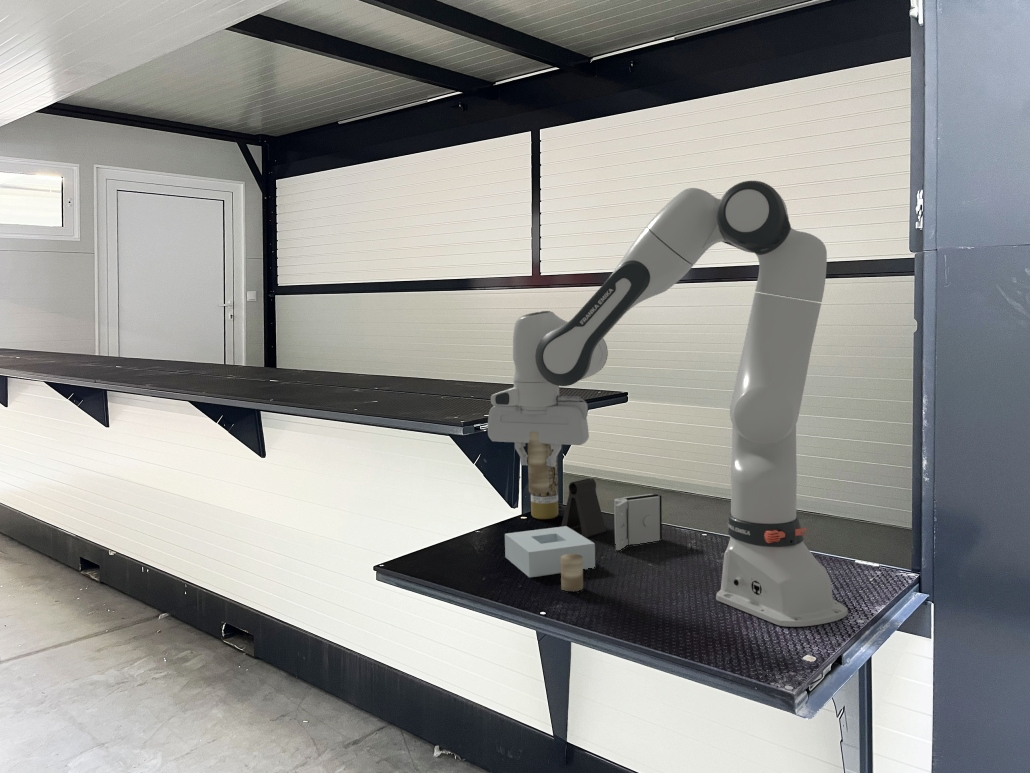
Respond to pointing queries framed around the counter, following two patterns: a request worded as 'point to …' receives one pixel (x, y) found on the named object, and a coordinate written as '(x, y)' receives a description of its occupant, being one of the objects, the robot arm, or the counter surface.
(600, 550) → the counter surface
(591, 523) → the phone stand
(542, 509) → the bark-patterned tube
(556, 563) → the hole board
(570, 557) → the short pin
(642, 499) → the hinge
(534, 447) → the tall pin
